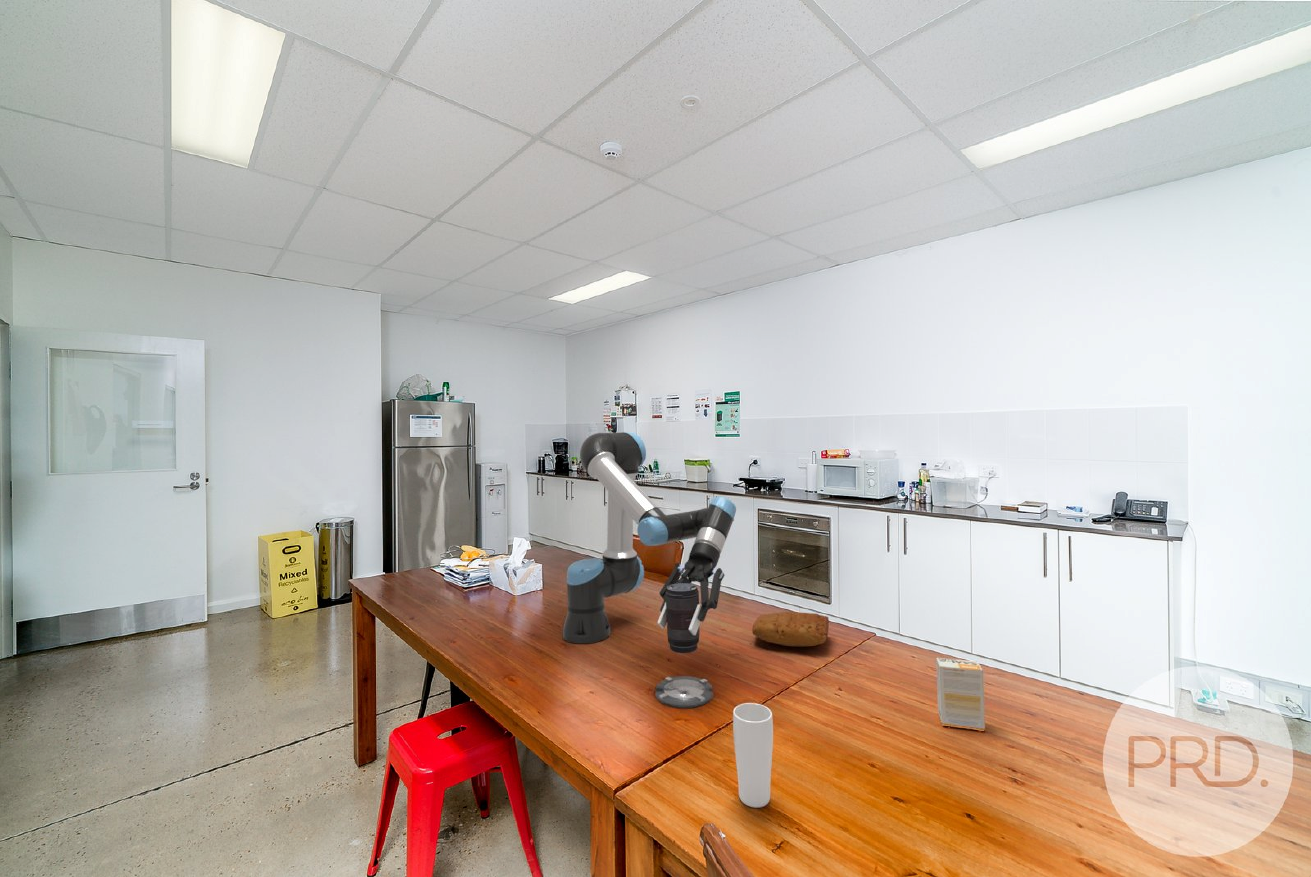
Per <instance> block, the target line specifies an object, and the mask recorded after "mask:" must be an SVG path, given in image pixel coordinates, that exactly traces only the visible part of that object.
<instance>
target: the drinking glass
mask: <svg viewBox="0 0 1311 877" xmlns="http://www.w3.org/2000/svg"><path fill="white" fill-rule="evenodd" d="M732 713H733V714H732V730H733V731H732V734H733V747H734V753H735V754H734V755H735V763H736V773H737V782H738V785H737V786H738V797H739V799H740V800H741V803H743V804H744V805H746V806H747V807H750V808H756V809H758V808H763V807H765V806H767V805H768V804H769V802H770V801H771V777H772V775H771V774H772V761H773V760H772V759H773V747H774V746H773V744H774V724H773V723H774V722H773V721H774V720H773V713H772V710H771V709H770V708H768V707H767V706H765V705H763V704H760V703H756V702H745V703H741V704H738V705H737V706H735V707H734V709H733V712H732Z"/></svg>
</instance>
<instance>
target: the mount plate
mask: <svg viewBox="0 0 1311 877" xmlns="http://www.w3.org/2000/svg"><path fill="white" fill-rule="evenodd" d="M654 691H655V698H656V700H657V699H658V700H657V701H658V702H659V701H660V702H659V703H661V704H663V705H664V704H665V705H664V706H666V707H670V708H674V707H675V708H676V709H695V708H699V707H701V706H705V705H707V704H708V703H709V702H710V701H712V699H713V696H714V689H713V686H712V684H710V682H708V679H705V678H700V677H697V676H689V675H688V676H687V675H682V676H680V675H678V676H673V677H670V676H667V677H665V678H664V680H661V681H660V682H659V683H657V685H656V687H655V690H654ZM704 704H705V705H704Z"/></svg>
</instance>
